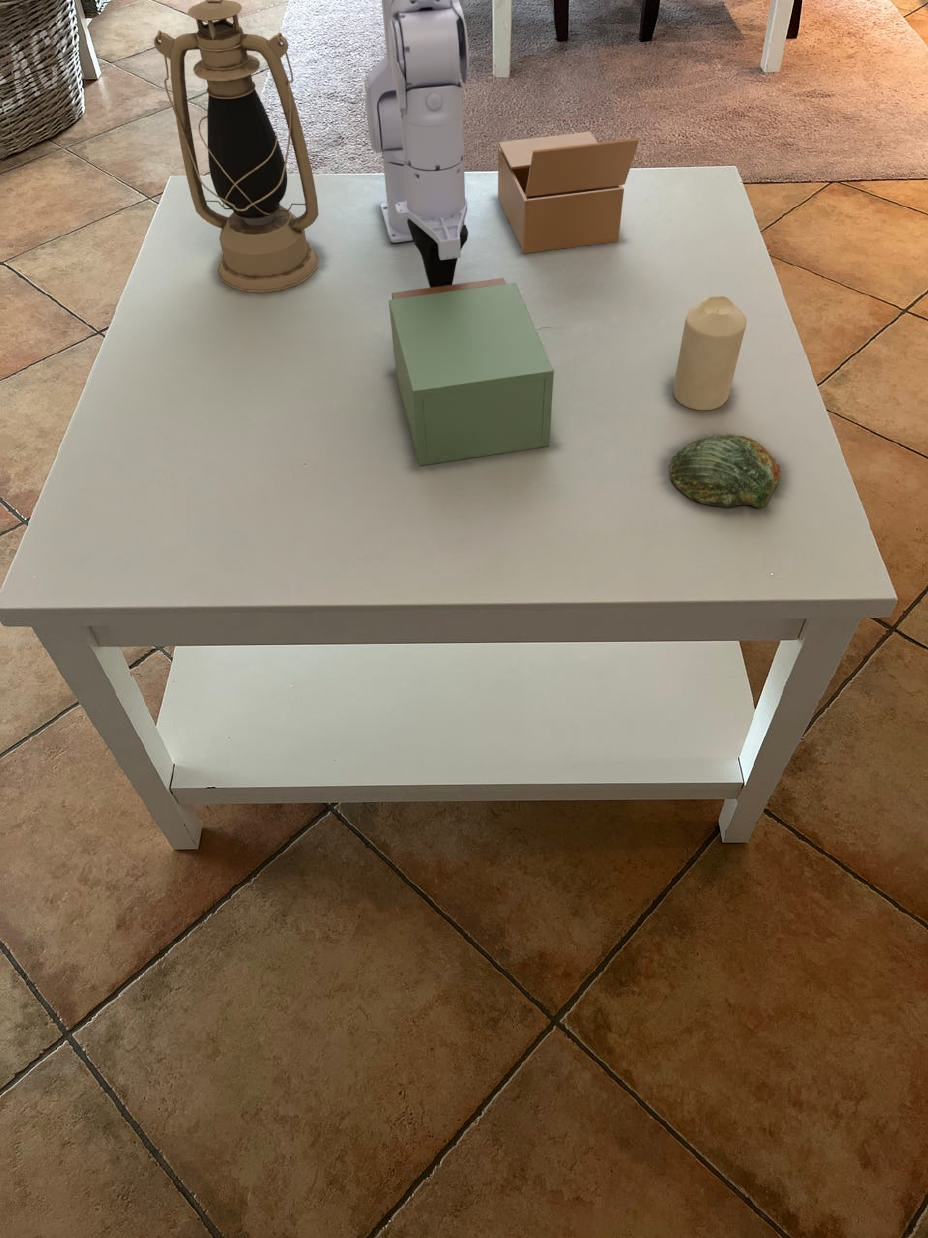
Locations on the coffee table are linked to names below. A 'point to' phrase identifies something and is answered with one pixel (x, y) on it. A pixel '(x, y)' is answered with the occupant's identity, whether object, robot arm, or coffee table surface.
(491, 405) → the cabinet
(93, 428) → the coffee table surface
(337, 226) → the coffee table surface
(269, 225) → the lantern
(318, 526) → the coffee table surface
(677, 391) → the candle
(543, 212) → the carton
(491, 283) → the drawer
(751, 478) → the seashell
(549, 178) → the flap
